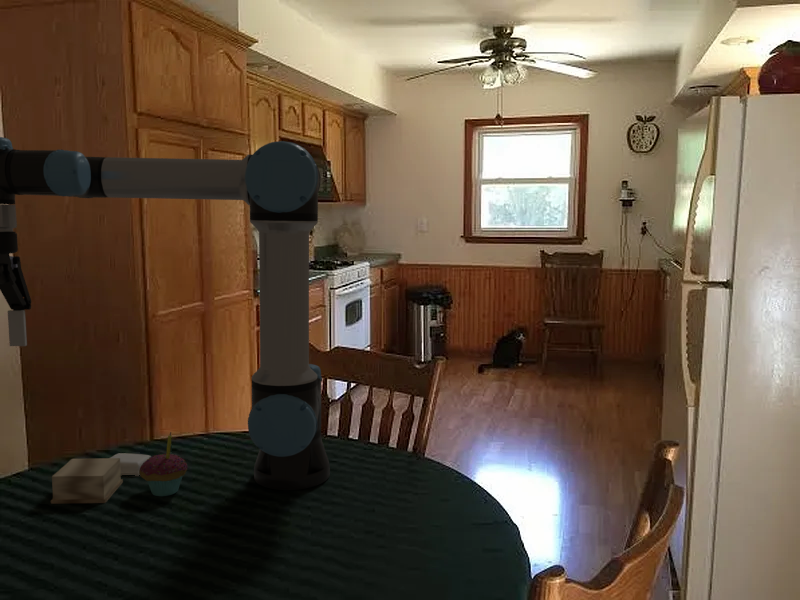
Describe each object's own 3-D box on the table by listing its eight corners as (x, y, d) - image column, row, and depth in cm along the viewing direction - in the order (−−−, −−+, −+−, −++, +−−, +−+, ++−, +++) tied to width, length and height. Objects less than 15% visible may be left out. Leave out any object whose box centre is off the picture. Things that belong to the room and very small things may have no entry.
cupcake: (197, 487, 131) (196, 427, 130) (165, 504, 123) (163, 440, 122) (163, 479, 135) (161, 421, 133) (130, 495, 127) (127, 433, 125)
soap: (98, 475, 137) (97, 461, 137) (116, 463, 144) (116, 450, 144) (140, 478, 136) (139, 464, 136) (156, 466, 143) (156, 452, 142)
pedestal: (122, 482, 133) (122, 457, 132) (105, 502, 124) (104, 476, 123) (72, 482, 132) (71, 458, 132) (50, 503, 123) (49, 477, 122)
